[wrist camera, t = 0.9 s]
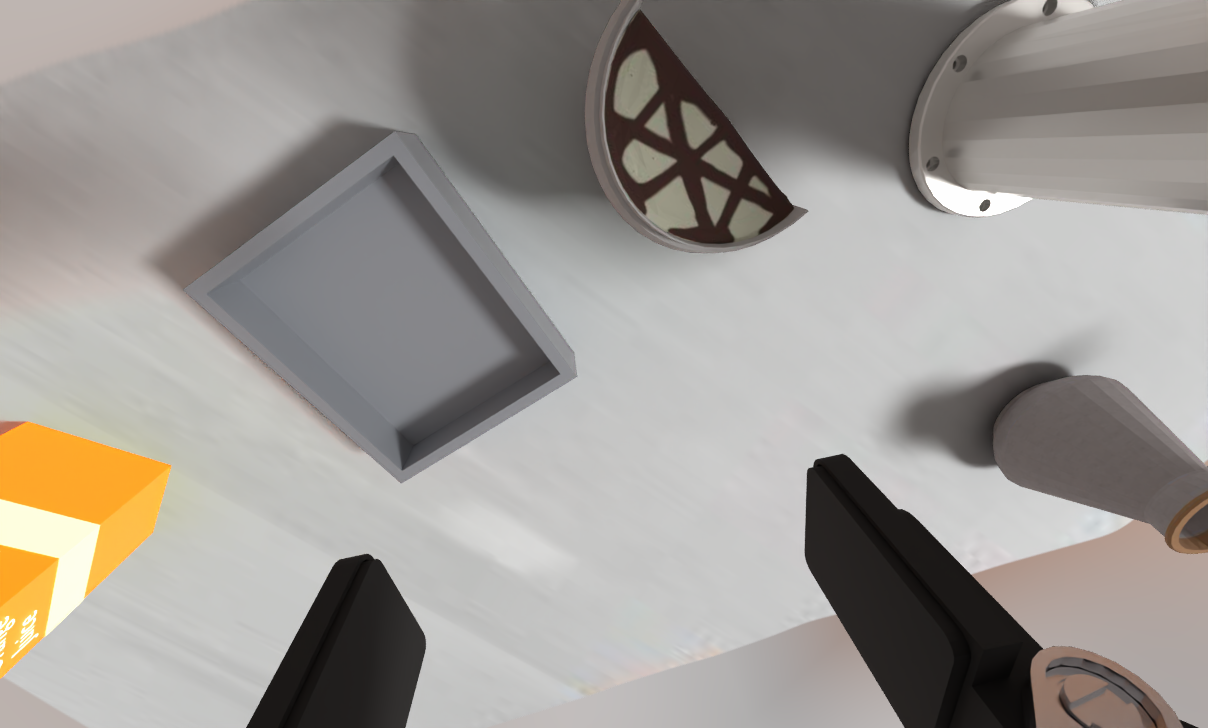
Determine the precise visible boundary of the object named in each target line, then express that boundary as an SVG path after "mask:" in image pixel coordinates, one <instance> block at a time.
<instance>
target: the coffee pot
mask: <svg viewBox="0 0 1208 728" xmlns="http://www.w3.org/2000/svg"><path fill="white" fill-rule="evenodd" d="M993 439H994V440H993V452H994V457H995V461H996V463H997V465H998V467H999V468H1000V470H1001V471H1002V472H1003V474H1004V475H1005V477H1006V478H1007V479H1008V480H1010V481H1012V482H1014V483H1015V484H1017V485H1019V486H1021V487H1025V488H1028V489H1032V490H1035V491H1039V492H1042V493H1046V494H1049V495H1052V496H1056V497H1059V498H1063V499H1066V500H1070V501H1073V502H1077V503H1080V504H1084V505H1087V506H1090V507H1094V508H1097V509H1101V510H1104V511H1108V512H1111V513H1115V514H1118V515H1121V516H1125V517H1128V518H1132V519H1135V520H1139V521H1142V522H1146V523H1149V524H1151V525H1152V526H1153V527H1154V528H1155V529H1157V530H1158V531H1159V532H1160V533H1161V534H1162V535H1163V536H1164V537H1165V541H1166V543H1167V545H1168V546H1169V547H1170V548H1171V549H1173V550H1175V551H1177V552H1179V553H1186V554H1198V553H1206V552H1208V466H1206V465H1205V464H1204V463H1203V462H1202V461H1201V460H1200V459H1199V458H1198V457H1197V456H1196V455H1195V454H1194V453H1193V452H1192V451H1191V450H1190V449H1189V448H1188V447H1187V446H1186V445H1185V444H1184V443H1183V442H1182V441H1181V440H1180V439H1179V438H1178V437H1177V436H1176V435H1175V434H1174V433H1173V432H1172V431H1171V430H1170V429H1169V428H1168V427H1167V426H1166V425H1165V424H1164V423H1163V422H1162V421H1161V420H1160V419H1158V418H1157V417H1156V416H1155V415H1154V414H1153V413H1152V412H1151V411H1150V410H1149V409H1148V408H1147V407H1146V406H1145V405H1144V404H1143V403H1142V402H1141V401H1140V400H1139V399H1138V398H1137V397H1136V396H1135V395H1134V394H1133V393H1132V392H1131V391H1130V390H1129V389H1128V388H1127V387H1125V386H1124V385H1123V384H1121V383H1120V382H1119V381H1117V380H1114V379H1110V378H1106V377H1102V376H1091V375H1082V376H1069V377H1065V378H1061V379H1057V380H1054V381H1050V382H1045V383H1041V384H1038V385H1035V386H1033V387H1031V388H1029V389H1027V390H1025V391H1023V392H1022V393H1020V394H1019V395H1017V396H1016V397H1015V398H1013V399H1012V400H1011V401H1010V402H1009V403H1008V404H1007V405H1006V406H1005V407H1004V409H1003V410H1002V412H1001V413H1000V414H999V416H998V418H997V420H996V422H995V424H994V429H993Z"/></svg>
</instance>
